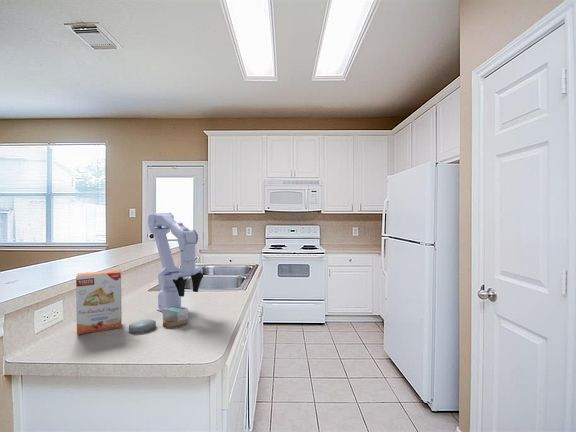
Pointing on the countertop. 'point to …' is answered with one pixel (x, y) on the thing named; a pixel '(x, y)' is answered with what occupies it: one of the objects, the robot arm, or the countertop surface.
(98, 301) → the cracker box
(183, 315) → the white and teal box
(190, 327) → the countertop surface
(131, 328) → the grey stand
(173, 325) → the walnut stand
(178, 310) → the cover plate
